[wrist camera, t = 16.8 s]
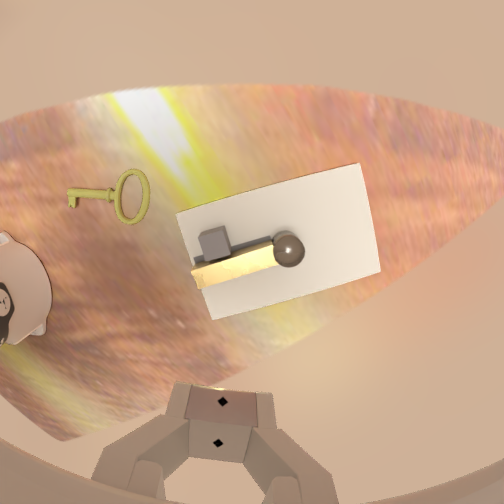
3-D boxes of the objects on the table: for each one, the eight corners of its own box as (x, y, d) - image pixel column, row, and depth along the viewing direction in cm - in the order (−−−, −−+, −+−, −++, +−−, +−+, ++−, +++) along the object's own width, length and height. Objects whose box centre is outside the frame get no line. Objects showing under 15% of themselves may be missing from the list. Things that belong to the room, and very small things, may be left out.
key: (70, 188, 37) (62, 189, 35) (146, 165, 37) (141, 165, 35) (81, 236, 39) (74, 240, 37) (157, 218, 39) (153, 221, 37)
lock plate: (213, 316, 42) (210, 331, 38) (177, 212, 38) (169, 217, 34) (377, 269, 41) (390, 279, 37) (356, 163, 37) (369, 162, 33)
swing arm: (295, 226, 37) (300, 232, 34) (302, 253, 38) (308, 261, 35) (193, 259, 38) (188, 268, 35) (203, 284, 39) (199, 296, 36)
